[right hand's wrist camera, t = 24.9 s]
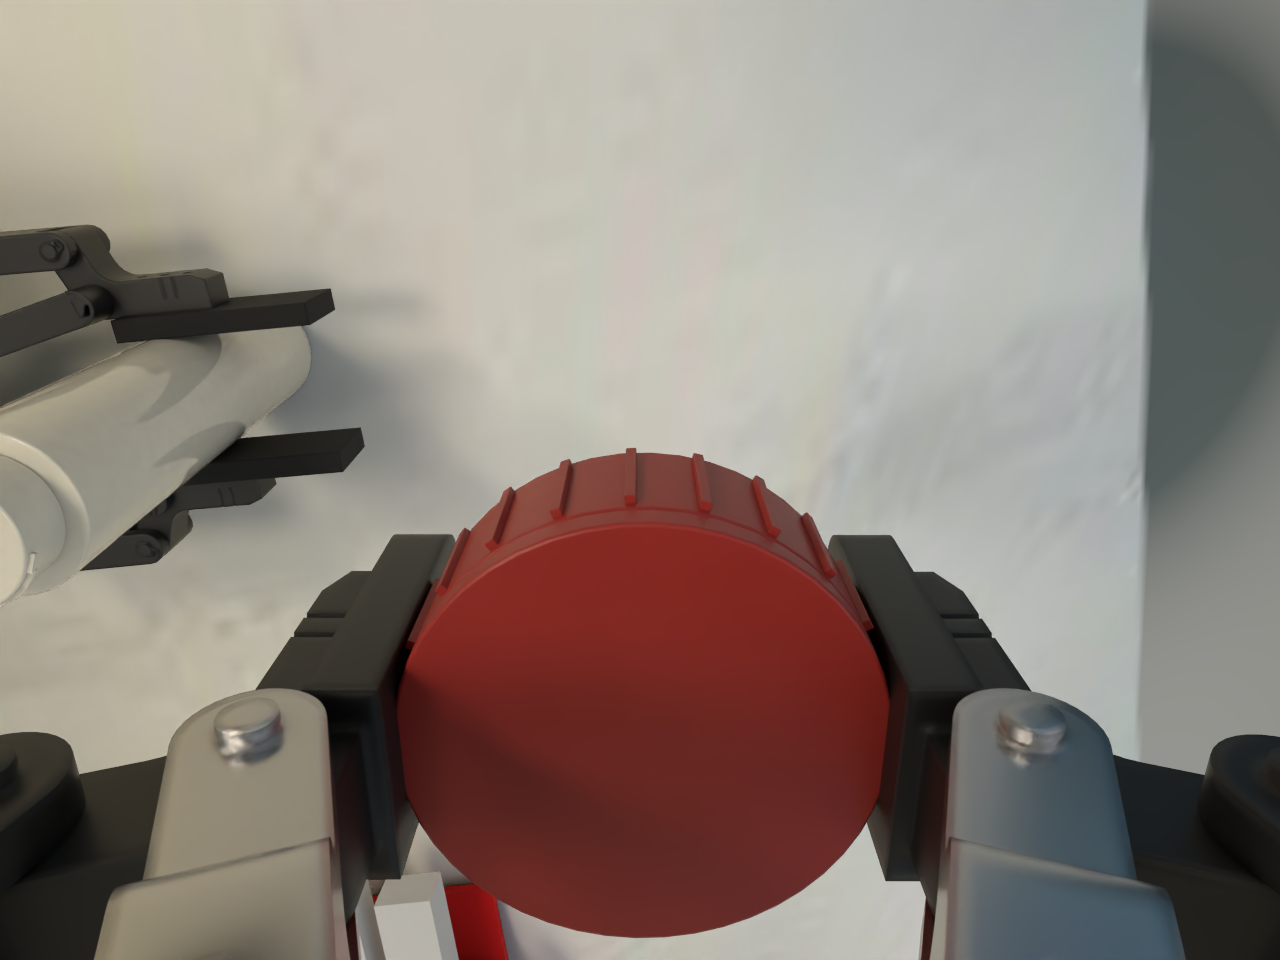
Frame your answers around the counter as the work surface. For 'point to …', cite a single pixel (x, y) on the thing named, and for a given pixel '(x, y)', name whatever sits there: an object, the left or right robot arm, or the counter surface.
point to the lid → (642, 699)
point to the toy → (429, 921)
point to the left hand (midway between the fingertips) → (335, 379)
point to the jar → (127, 442)
